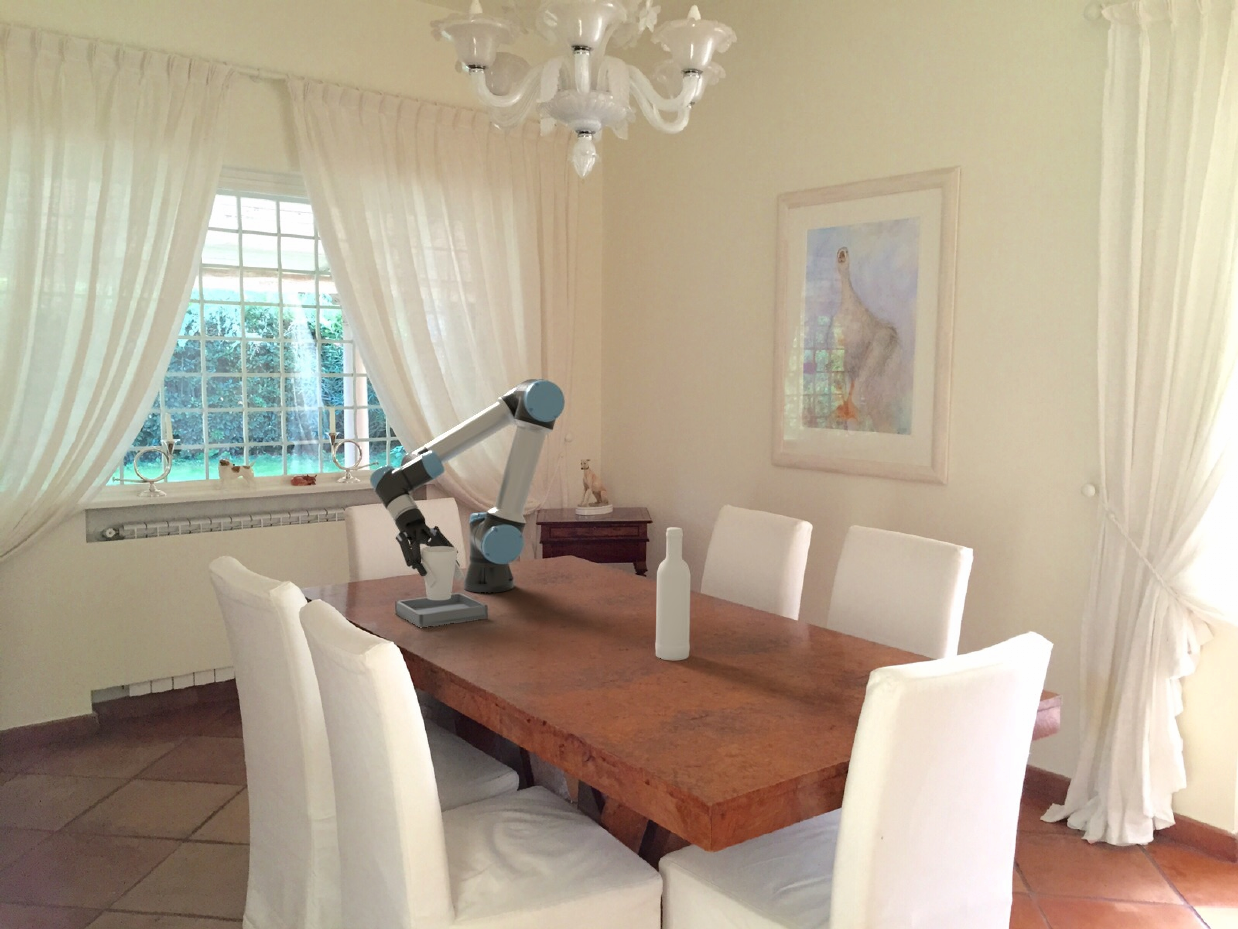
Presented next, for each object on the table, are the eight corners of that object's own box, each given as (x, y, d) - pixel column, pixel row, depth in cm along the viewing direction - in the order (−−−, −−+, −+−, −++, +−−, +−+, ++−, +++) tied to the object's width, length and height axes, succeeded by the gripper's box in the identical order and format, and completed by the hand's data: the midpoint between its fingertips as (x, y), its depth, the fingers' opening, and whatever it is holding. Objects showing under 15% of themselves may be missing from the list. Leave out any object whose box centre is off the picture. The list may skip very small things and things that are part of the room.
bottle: (683, 662, 218) (686, 532, 215) (650, 658, 220) (652, 529, 217) (693, 653, 225) (695, 527, 222) (661, 649, 228) (663, 524, 225)
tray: (460, 605, 268) (460, 592, 268) (487, 618, 254) (487, 605, 254) (395, 614, 257) (395, 601, 257) (420, 628, 243) (419, 615, 243)
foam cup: (461, 594, 259) (461, 547, 258) (451, 602, 250) (452, 553, 249) (426, 593, 260) (426, 545, 259) (416, 600, 251) (416, 551, 250)
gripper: (430, 519, 271) (469, 582, 263) (367, 529, 253) (408, 597, 246) (443, 502, 267) (484, 566, 260) (381, 511, 250) (423, 579, 242)
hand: (447, 581), depth 253 cm, fingers closed on foam cup, 9 cm apart
